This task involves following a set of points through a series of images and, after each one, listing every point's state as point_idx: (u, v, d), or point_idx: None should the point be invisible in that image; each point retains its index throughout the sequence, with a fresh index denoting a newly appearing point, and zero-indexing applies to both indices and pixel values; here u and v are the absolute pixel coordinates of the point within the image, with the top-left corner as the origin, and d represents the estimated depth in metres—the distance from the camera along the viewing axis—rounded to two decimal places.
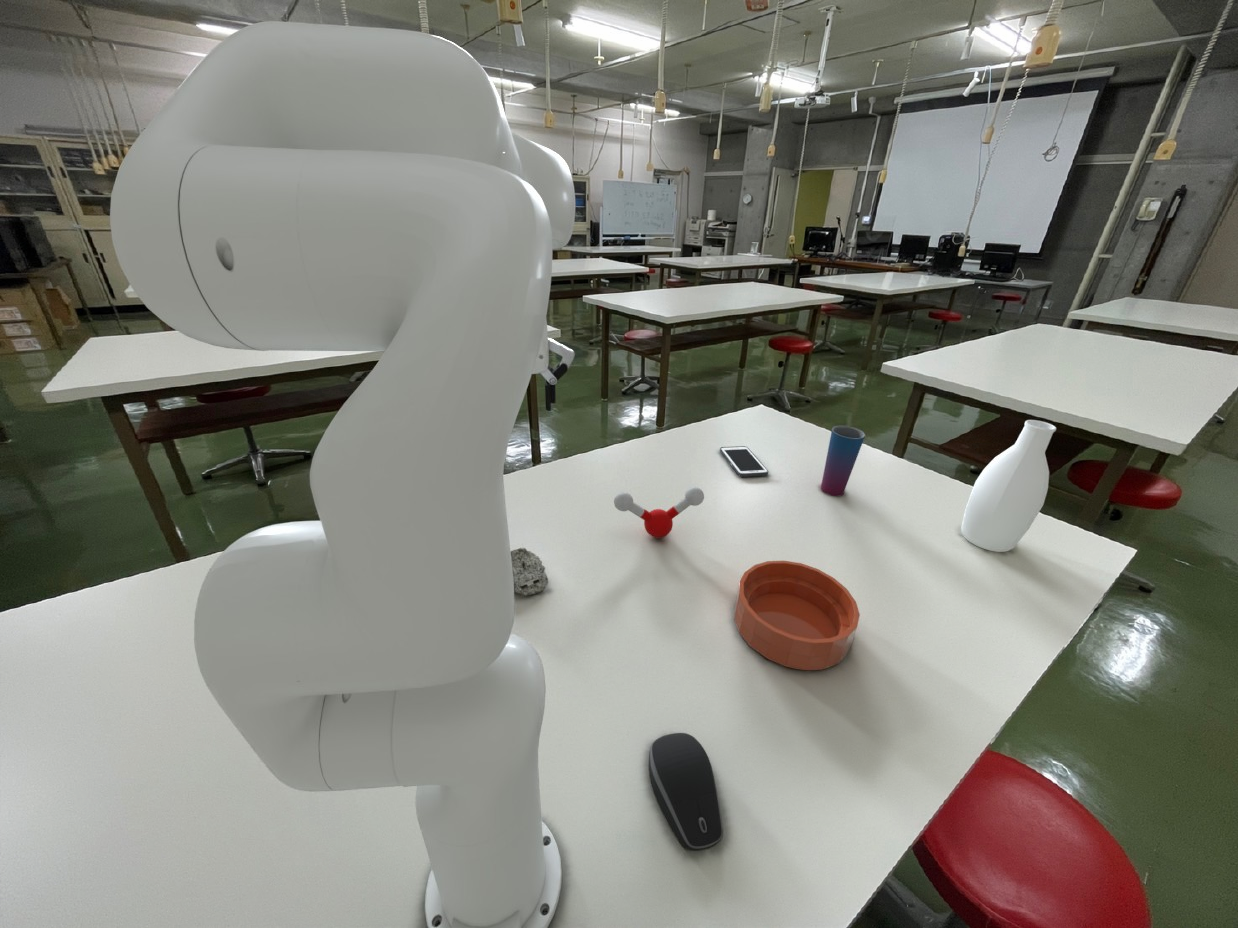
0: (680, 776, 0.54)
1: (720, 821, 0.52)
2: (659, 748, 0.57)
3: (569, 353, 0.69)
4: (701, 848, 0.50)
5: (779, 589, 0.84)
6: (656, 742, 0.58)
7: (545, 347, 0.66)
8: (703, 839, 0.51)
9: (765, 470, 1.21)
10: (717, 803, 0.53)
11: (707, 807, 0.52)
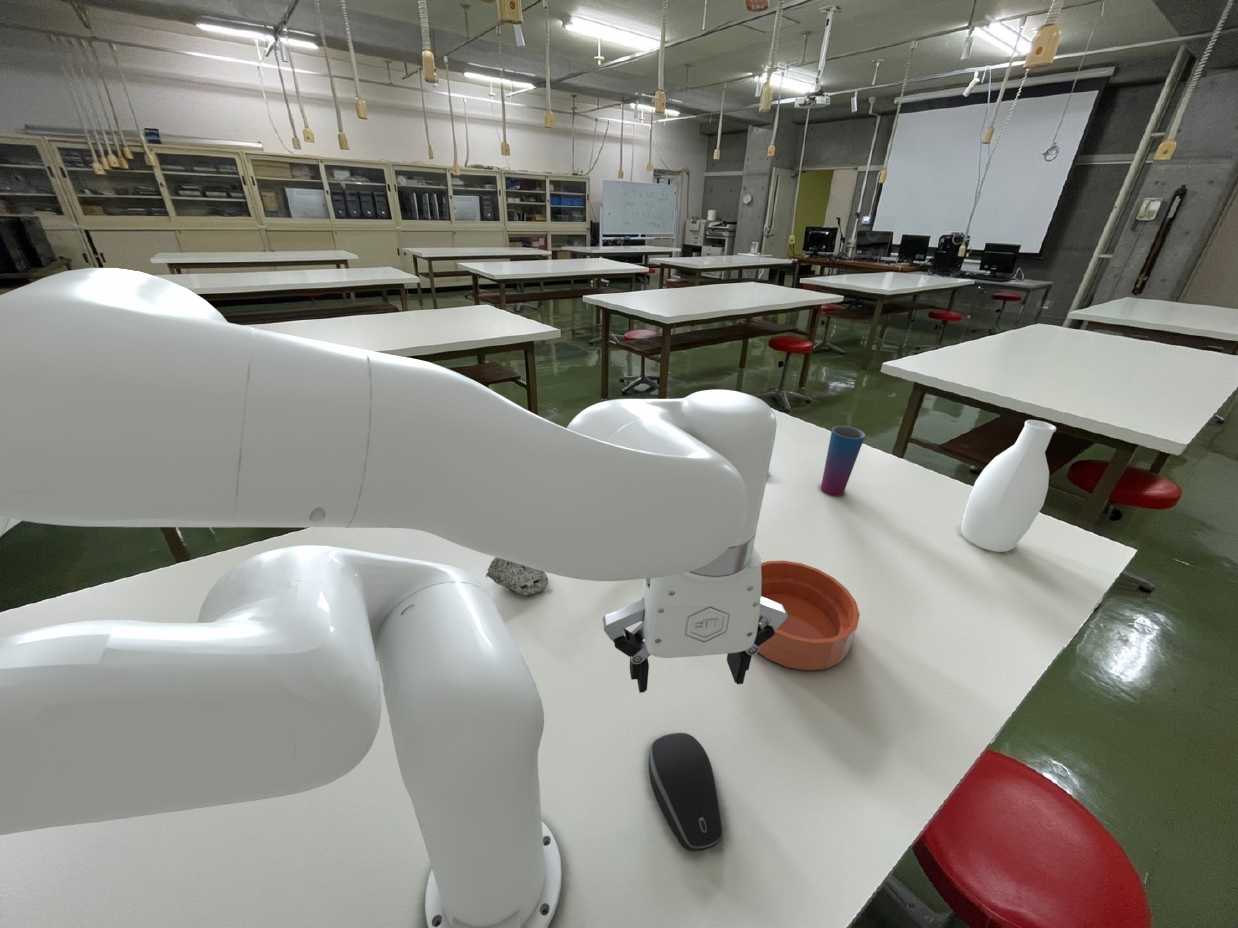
0: (680, 776, 0.54)
1: (720, 821, 0.52)
2: (659, 748, 0.57)
3: (780, 614, 0.46)
4: (701, 848, 0.50)
5: (779, 589, 0.84)
6: (656, 742, 0.58)
7: (757, 622, 0.44)
8: (703, 839, 0.51)
9: None
10: (717, 803, 0.53)
11: (707, 807, 0.52)
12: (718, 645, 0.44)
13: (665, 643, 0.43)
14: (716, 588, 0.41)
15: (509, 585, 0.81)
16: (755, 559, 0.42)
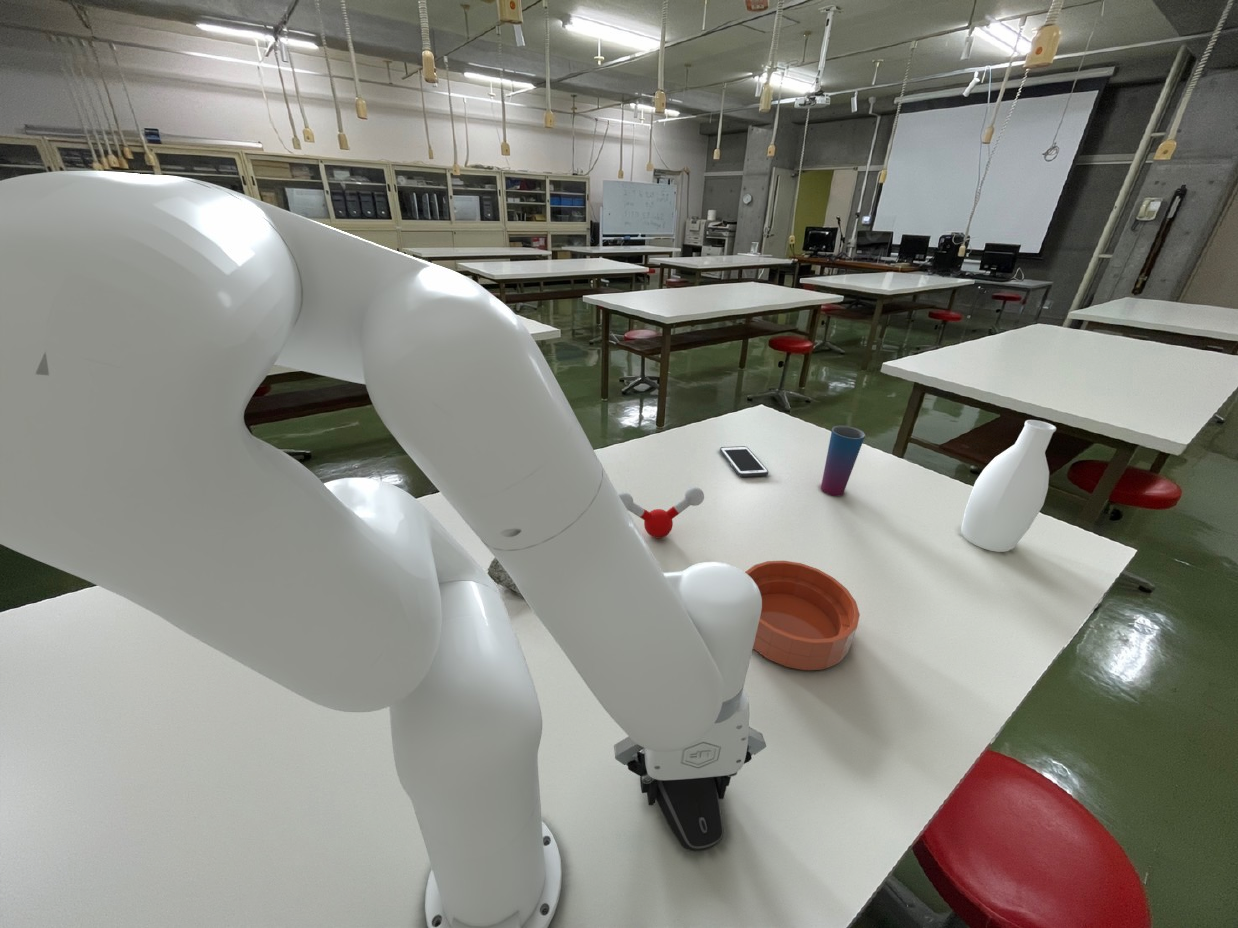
0: None
1: (720, 821, 0.52)
2: None
3: (760, 744, 0.52)
4: (701, 848, 0.50)
5: (779, 589, 0.84)
6: None
7: (745, 751, 0.49)
8: (703, 839, 0.51)
9: (765, 470, 1.21)
10: (717, 803, 0.53)
11: (708, 807, 0.52)
12: (711, 770, 0.50)
13: (663, 769, 0.49)
14: None
15: (509, 585, 0.81)
16: (744, 701, 0.47)
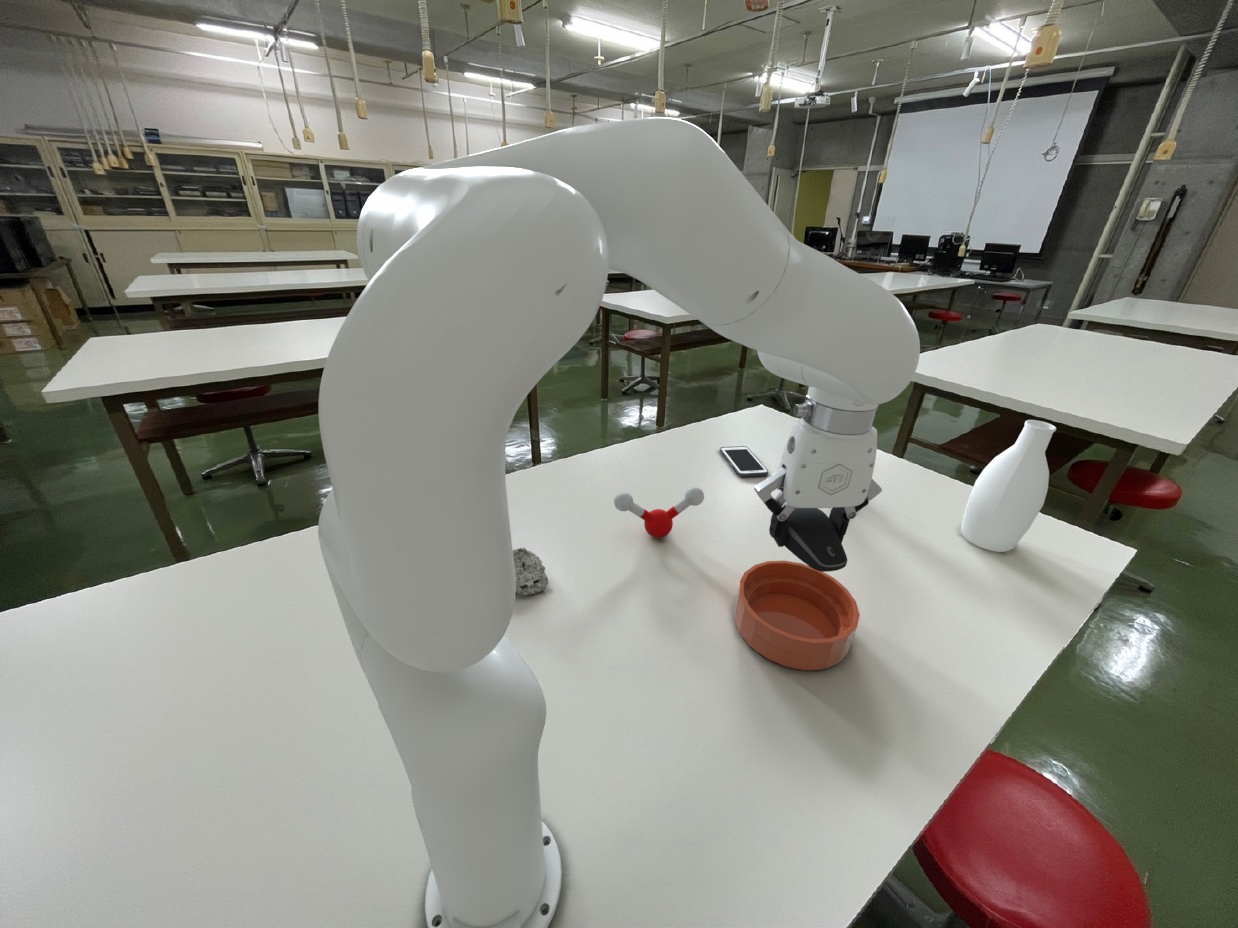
0: (807, 521, 0.64)
1: (844, 551, 0.62)
2: None
3: (877, 488, 0.62)
4: (831, 567, 0.60)
5: (779, 589, 0.84)
6: None
7: (870, 481, 0.59)
8: (833, 560, 0.60)
9: (765, 470, 1.21)
10: None
11: (833, 541, 0.62)
12: (840, 499, 0.59)
13: (802, 494, 0.59)
14: (846, 448, 0.56)
15: None
16: (873, 430, 0.57)
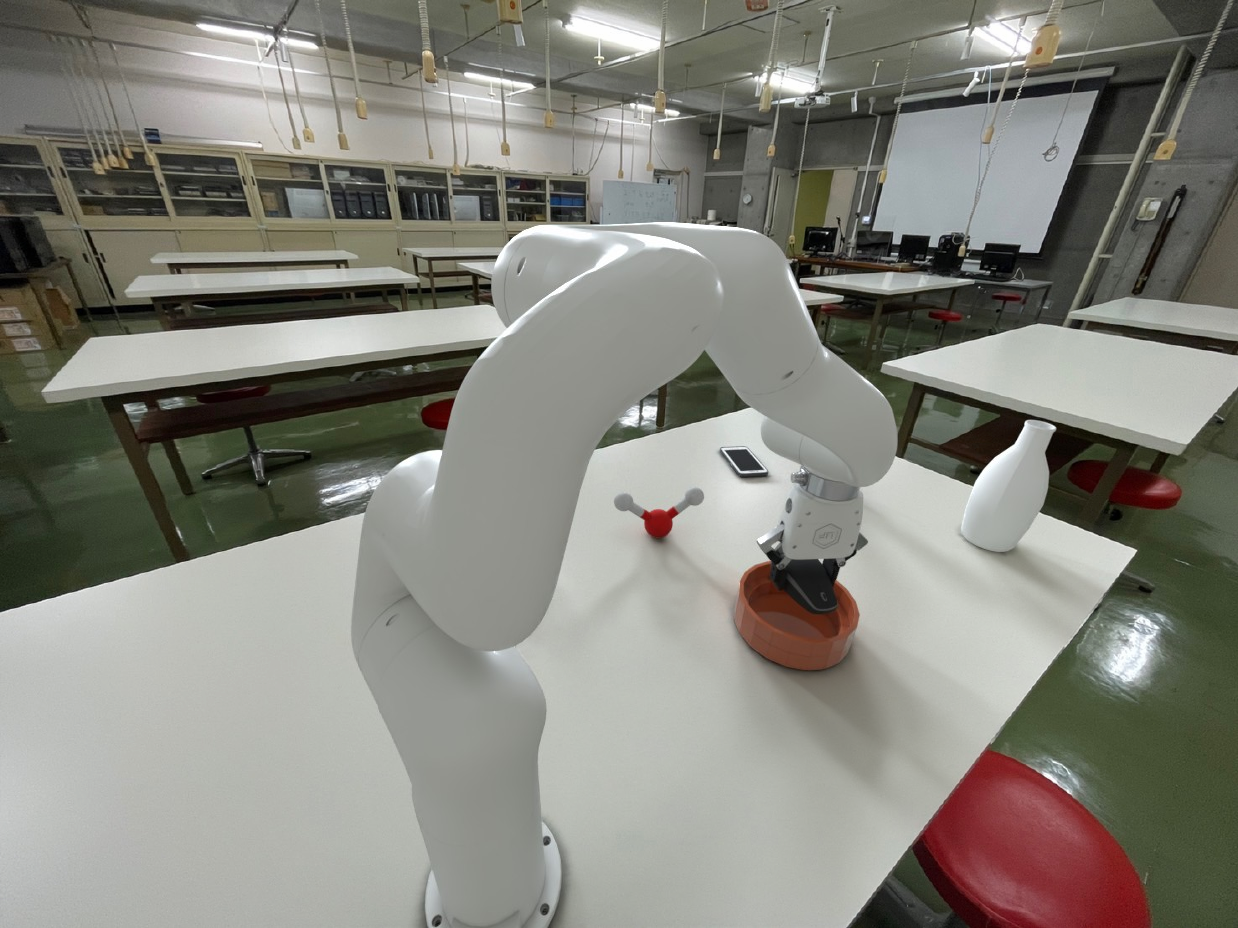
0: (803, 568, 0.72)
1: (835, 596, 0.70)
2: (781, 555, 0.75)
3: (864, 540, 0.71)
4: (824, 611, 0.69)
5: None
6: None
7: (857, 536, 0.68)
8: (825, 604, 0.69)
9: (765, 470, 1.21)
10: (831, 586, 0.71)
11: (825, 586, 0.71)
12: (832, 552, 0.68)
13: (798, 548, 0.67)
14: (836, 510, 0.65)
15: None
16: (859, 494, 0.66)
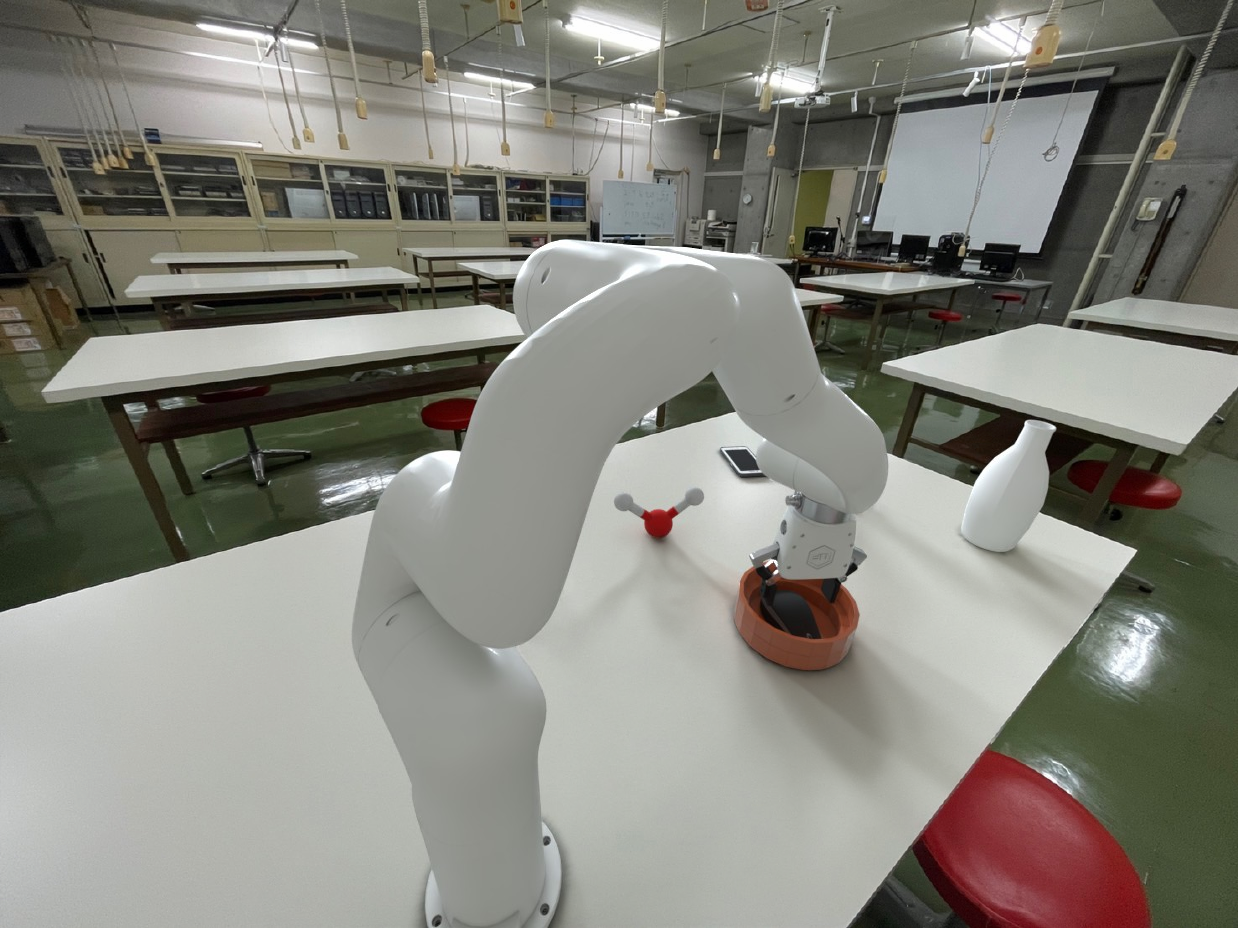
0: (790, 609, 0.76)
1: None
2: None
3: (862, 555, 0.72)
4: None
5: (779, 589, 0.84)
6: None
7: (850, 557, 0.69)
8: None
9: None
10: (817, 626, 0.75)
11: (811, 628, 0.74)
12: (825, 572, 0.70)
13: (793, 569, 0.69)
14: (829, 532, 0.67)
15: None
16: (852, 516, 0.67)
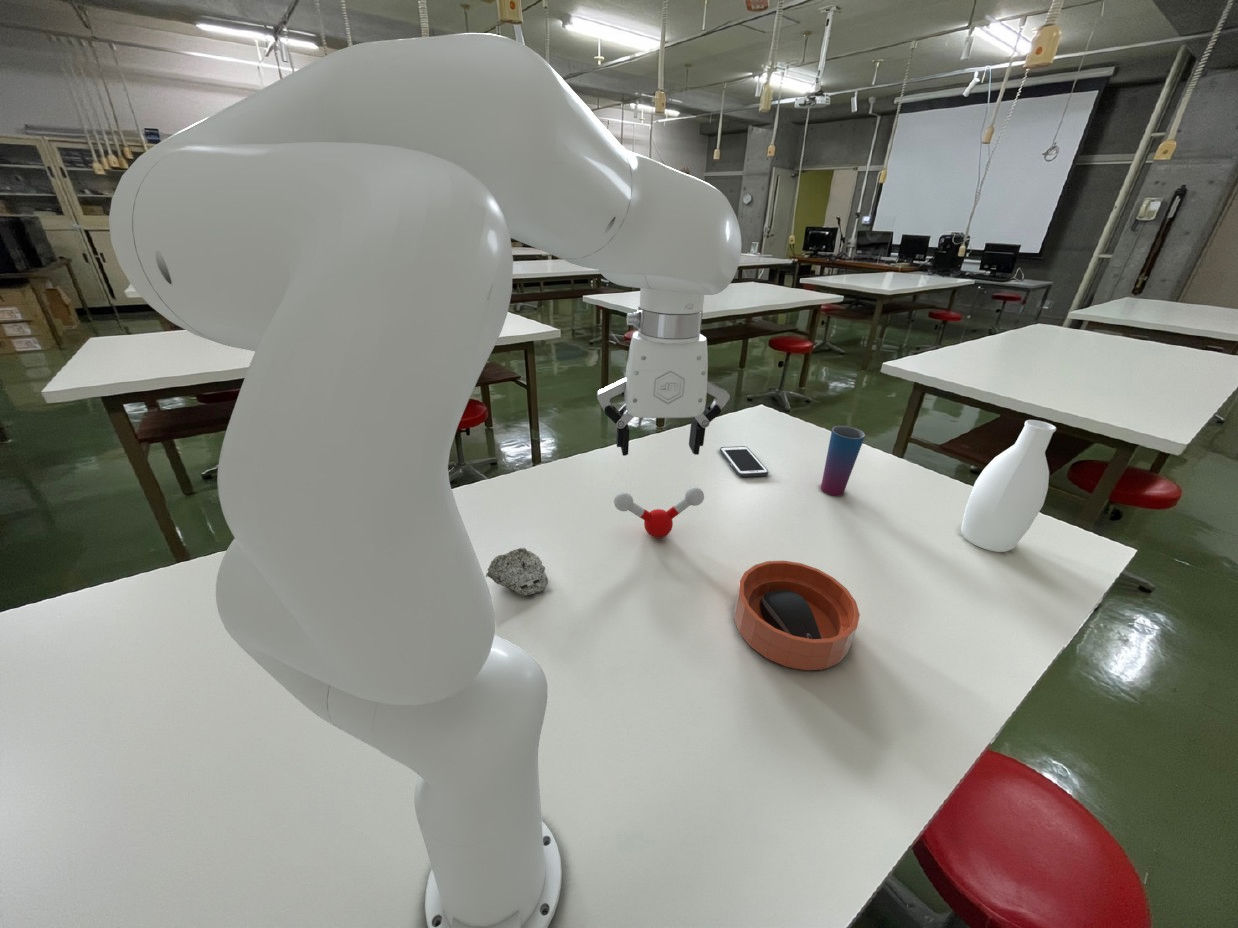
0: (790, 609, 0.76)
1: (820, 637, 0.74)
2: (770, 596, 0.79)
3: (724, 395, 0.64)
4: None
5: (779, 589, 0.84)
6: (766, 594, 0.80)
7: (705, 390, 0.62)
8: None
9: (765, 470, 1.21)
10: (817, 626, 0.75)
11: (811, 628, 0.74)
12: (678, 408, 0.62)
13: (640, 402, 0.61)
14: (674, 354, 0.59)
15: (509, 585, 0.81)
16: (702, 338, 0.60)
